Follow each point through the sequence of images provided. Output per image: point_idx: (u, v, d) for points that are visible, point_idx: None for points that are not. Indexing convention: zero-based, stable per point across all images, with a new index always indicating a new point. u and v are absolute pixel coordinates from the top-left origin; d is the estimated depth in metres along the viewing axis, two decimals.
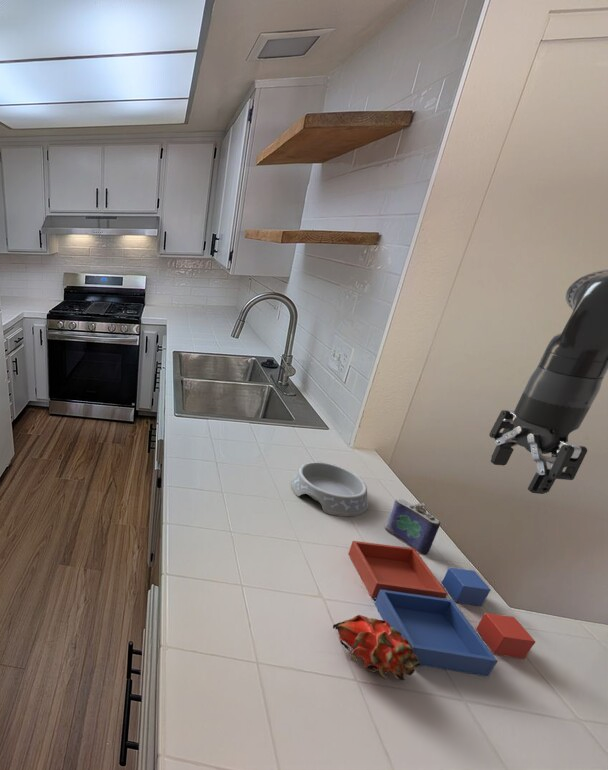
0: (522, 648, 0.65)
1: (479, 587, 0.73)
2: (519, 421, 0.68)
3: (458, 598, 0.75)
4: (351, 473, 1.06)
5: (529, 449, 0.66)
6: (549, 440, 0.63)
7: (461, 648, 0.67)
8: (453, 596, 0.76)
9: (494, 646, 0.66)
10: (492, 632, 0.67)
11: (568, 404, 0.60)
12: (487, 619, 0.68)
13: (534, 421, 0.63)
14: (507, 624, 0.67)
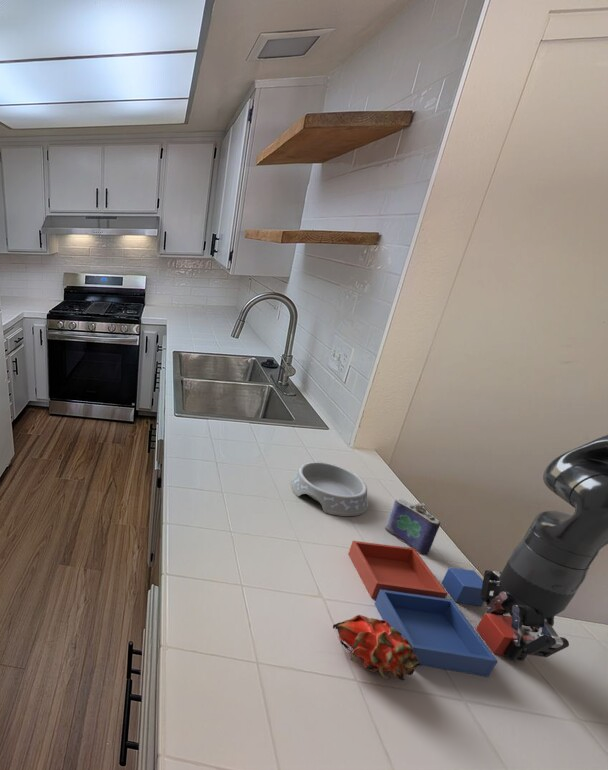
0: None
1: (479, 587, 0.73)
2: None
3: (458, 598, 0.75)
4: (351, 473, 1.06)
5: None
6: (534, 619, 0.61)
7: (461, 648, 0.67)
8: (453, 596, 0.76)
9: (494, 646, 0.66)
10: (492, 632, 0.67)
11: (553, 590, 0.58)
12: (487, 619, 0.68)
13: (519, 597, 0.62)
14: (507, 624, 0.67)
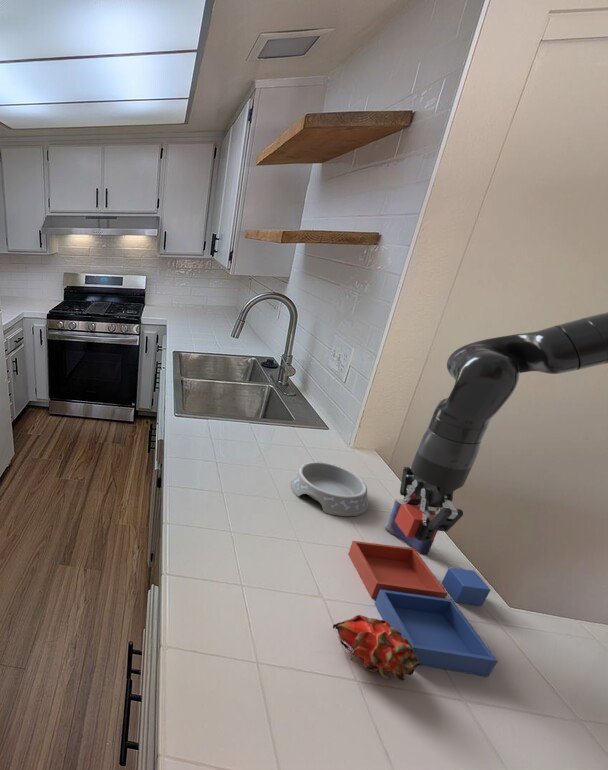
0: None
1: (479, 587, 0.73)
2: None
3: (458, 598, 0.75)
4: (351, 473, 1.06)
5: None
6: (437, 496, 0.68)
7: (461, 648, 0.67)
8: (453, 596, 0.76)
9: (407, 530, 0.73)
10: (406, 518, 0.74)
11: (450, 465, 0.65)
12: (403, 508, 0.75)
13: (424, 478, 0.68)
14: (419, 511, 0.73)
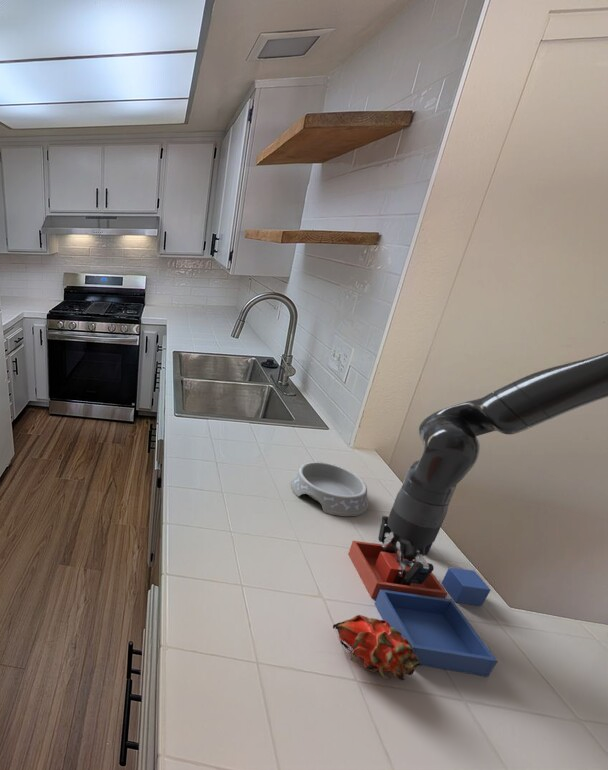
0: None
1: (479, 587, 0.73)
2: None
3: (458, 598, 0.75)
4: (351, 473, 1.06)
5: None
6: (410, 551, 0.73)
7: (461, 648, 0.67)
8: (453, 596, 0.76)
9: (385, 578, 0.79)
10: (384, 566, 0.79)
11: (421, 524, 0.71)
12: (381, 556, 0.80)
13: (398, 533, 0.74)
14: (396, 559, 0.79)
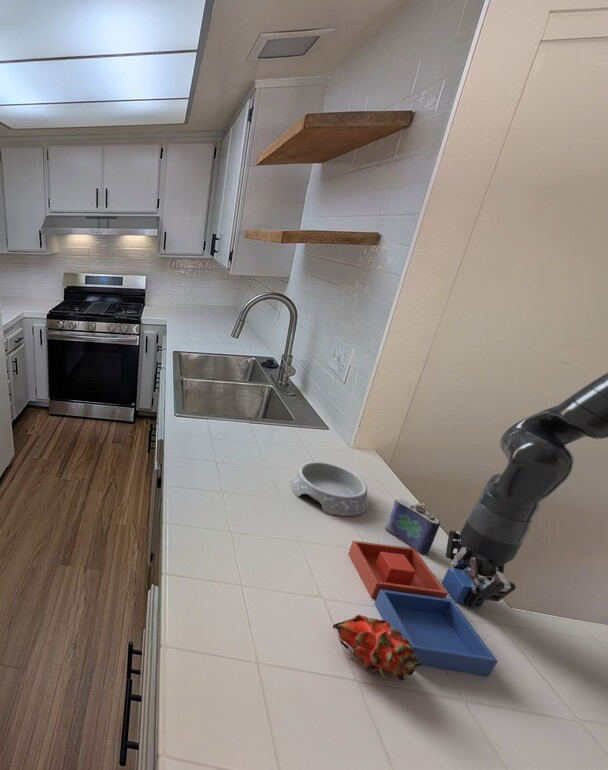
0: (406, 578, 0.77)
1: None
2: None
3: (458, 598, 0.75)
4: (351, 473, 1.06)
5: None
6: (488, 568, 0.70)
7: (461, 648, 0.67)
8: (453, 596, 0.76)
9: (385, 578, 0.79)
10: (384, 566, 0.79)
11: (502, 540, 0.67)
12: (381, 556, 0.80)
13: (475, 549, 0.71)
14: (396, 559, 0.79)
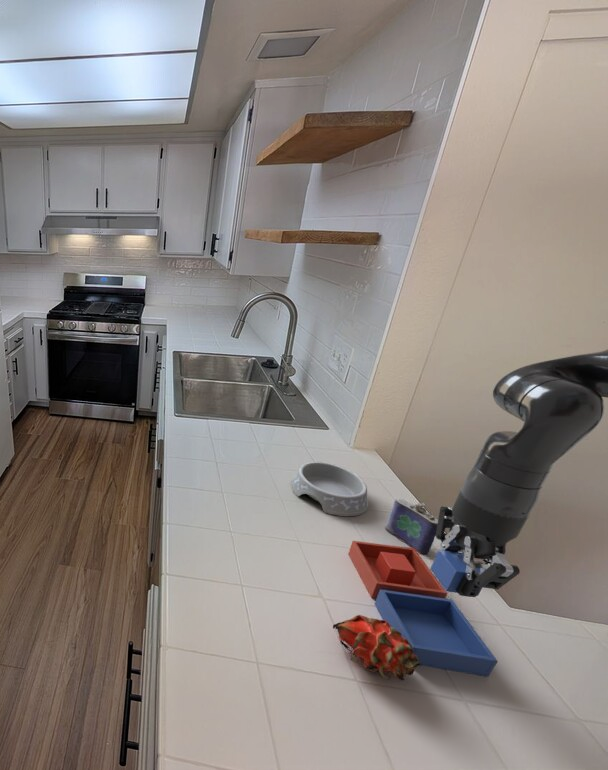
0: (406, 578, 0.77)
1: None
2: None
3: (449, 586, 0.62)
4: (351, 473, 1.06)
5: None
6: (486, 548, 0.57)
7: (461, 648, 0.67)
8: (444, 584, 0.63)
9: (385, 578, 0.79)
10: (384, 566, 0.79)
11: (504, 513, 0.54)
12: (381, 556, 0.80)
13: (470, 526, 0.58)
14: (396, 559, 0.79)
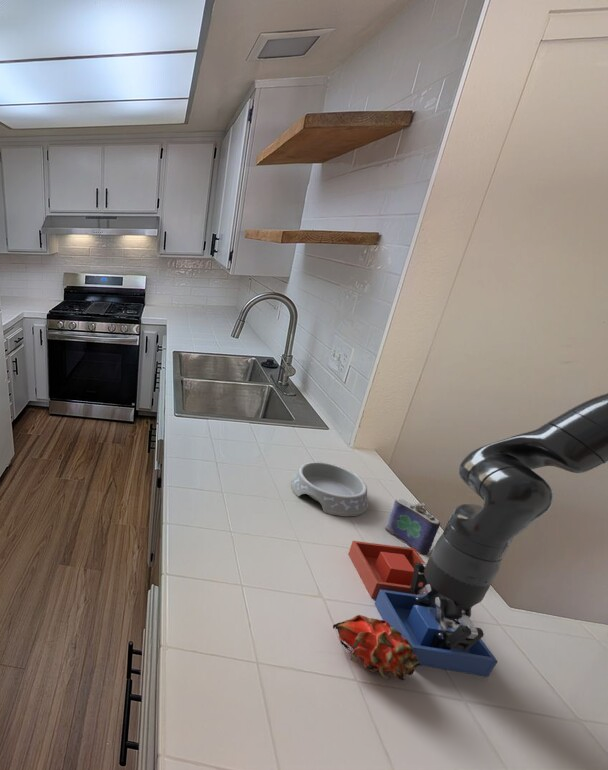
0: (406, 578, 0.77)
1: None
2: None
3: (423, 641, 0.67)
4: (351, 473, 1.06)
5: None
6: (453, 610, 0.62)
7: None
8: (418, 638, 0.68)
9: (385, 578, 0.79)
10: (384, 566, 0.79)
11: (468, 581, 0.59)
12: (381, 556, 0.80)
13: (439, 589, 0.63)
14: (396, 559, 0.79)
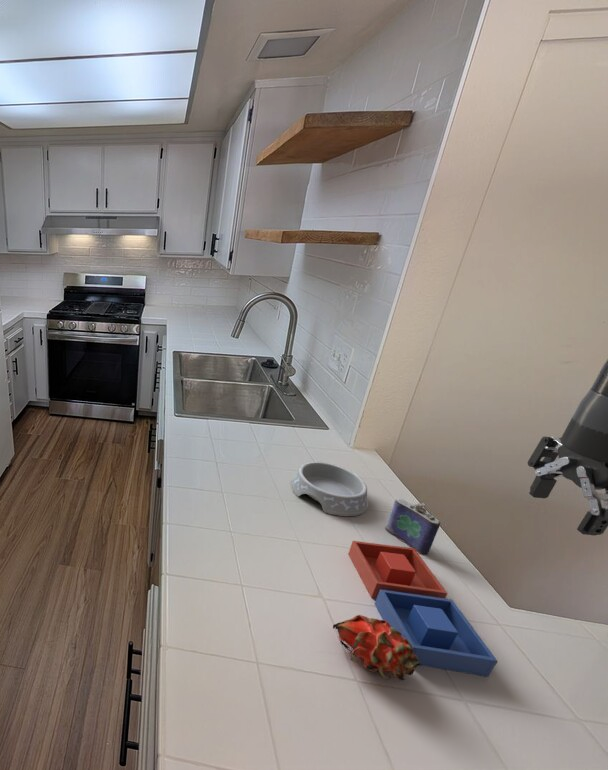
0: (406, 578, 0.77)
1: (445, 629, 0.65)
2: (565, 450, 0.60)
3: (423, 641, 0.67)
4: (351, 473, 1.06)
5: (578, 483, 0.58)
6: (605, 475, 0.55)
7: (461, 648, 0.67)
8: (418, 638, 0.68)
9: (385, 578, 0.79)
10: (384, 566, 0.79)
11: None
12: (381, 556, 0.80)
13: (587, 453, 0.55)
14: (396, 559, 0.79)
